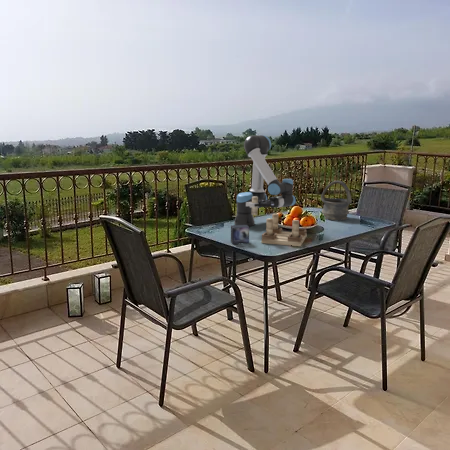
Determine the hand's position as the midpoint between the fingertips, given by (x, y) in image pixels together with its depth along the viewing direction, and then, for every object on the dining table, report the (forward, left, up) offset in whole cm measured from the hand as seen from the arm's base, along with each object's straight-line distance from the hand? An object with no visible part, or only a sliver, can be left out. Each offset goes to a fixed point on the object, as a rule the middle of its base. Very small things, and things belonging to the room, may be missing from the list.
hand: (248, 204), depth 268 cm
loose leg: (-4, +3, -7) cm, 9 cm away
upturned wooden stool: (+10, +27, -19) cm, 35 cm away
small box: (+25, +2, -20) cm, 32 cm away
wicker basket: (-70, +52, -20) cm, 89 cm away
